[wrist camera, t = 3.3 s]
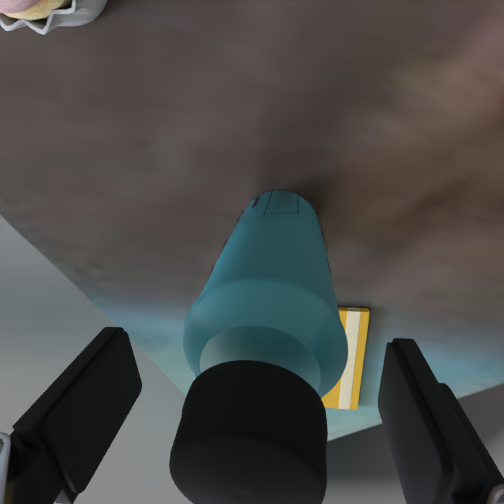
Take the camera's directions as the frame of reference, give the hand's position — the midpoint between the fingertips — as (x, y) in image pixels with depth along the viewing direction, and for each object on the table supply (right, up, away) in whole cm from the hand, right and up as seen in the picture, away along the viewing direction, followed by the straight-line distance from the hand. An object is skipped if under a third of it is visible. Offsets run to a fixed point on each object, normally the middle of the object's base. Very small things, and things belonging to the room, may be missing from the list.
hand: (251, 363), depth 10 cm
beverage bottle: (+3, +7, +14) cm, 16 cm away
